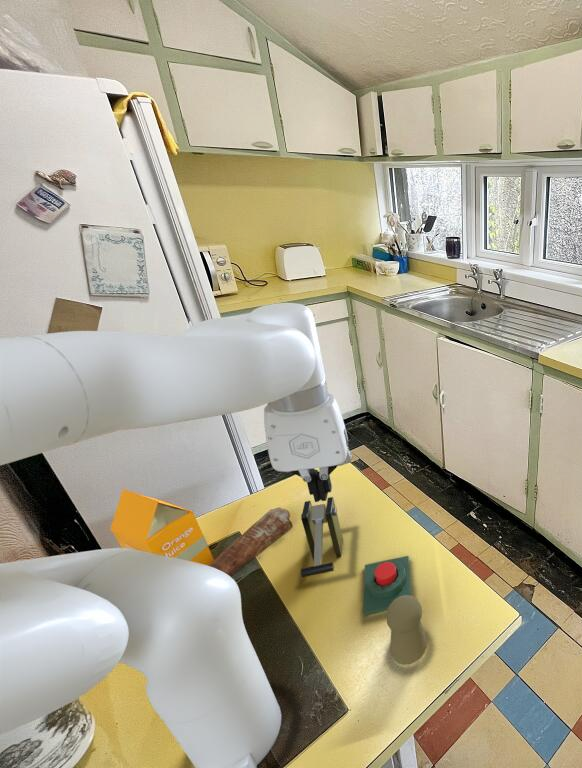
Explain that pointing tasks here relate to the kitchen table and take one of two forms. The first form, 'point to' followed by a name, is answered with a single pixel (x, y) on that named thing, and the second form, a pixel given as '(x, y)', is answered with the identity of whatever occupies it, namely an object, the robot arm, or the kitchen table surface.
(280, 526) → the salami
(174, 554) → the orange juice
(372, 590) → the button box
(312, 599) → the kitchen table surface
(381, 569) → the button
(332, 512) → the bracket
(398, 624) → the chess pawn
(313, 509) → the lever
